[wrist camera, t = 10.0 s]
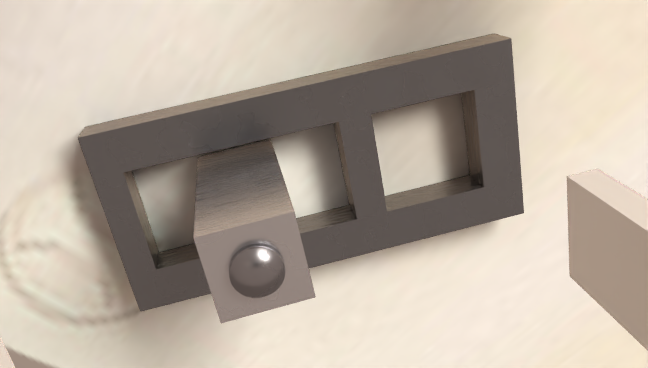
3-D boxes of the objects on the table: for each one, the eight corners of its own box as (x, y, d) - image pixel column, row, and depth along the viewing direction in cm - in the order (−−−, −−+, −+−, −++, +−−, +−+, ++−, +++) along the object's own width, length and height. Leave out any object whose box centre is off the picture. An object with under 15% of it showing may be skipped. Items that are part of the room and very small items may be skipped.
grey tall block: (197, 157, 33) (193, 242, 23) (270, 139, 33) (295, 215, 24) (217, 223, 34) (221, 328, 25) (287, 205, 35) (317, 302, 25)
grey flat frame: (85, 126, 31) (77, 137, 30) (494, 33, 33) (511, 38, 31) (144, 292, 35) (140, 311, 33) (508, 199, 37) (523, 213, 35)
